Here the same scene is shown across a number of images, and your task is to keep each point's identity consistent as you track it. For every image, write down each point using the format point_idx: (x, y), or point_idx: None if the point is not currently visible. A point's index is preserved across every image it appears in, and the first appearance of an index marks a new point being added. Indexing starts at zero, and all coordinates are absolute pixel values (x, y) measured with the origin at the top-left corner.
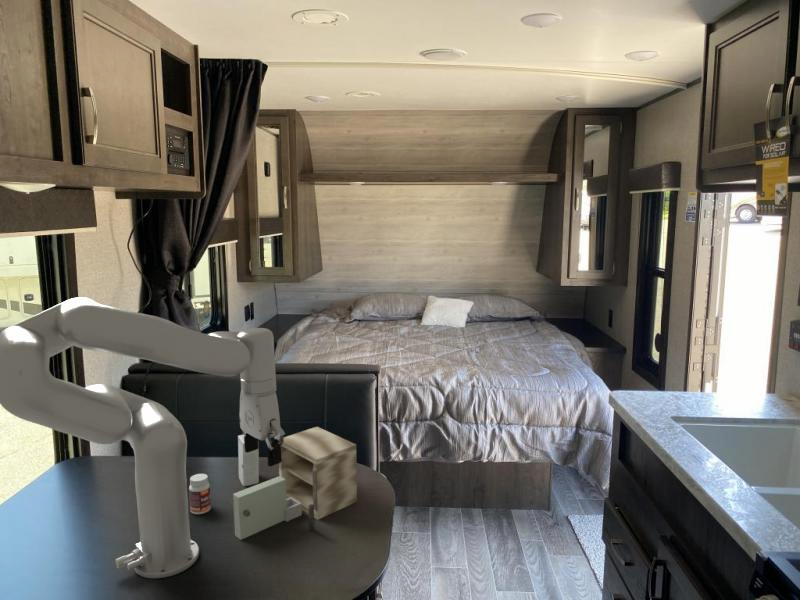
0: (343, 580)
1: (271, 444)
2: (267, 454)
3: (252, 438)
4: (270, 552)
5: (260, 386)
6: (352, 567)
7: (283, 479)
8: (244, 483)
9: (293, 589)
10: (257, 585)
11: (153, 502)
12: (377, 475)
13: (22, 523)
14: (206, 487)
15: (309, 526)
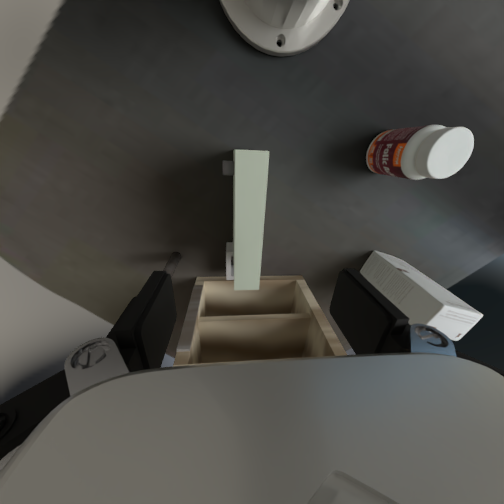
0: (4, 211)
1: (69, 383)
2: (141, 305)
3: (364, 334)
4: (158, 168)
5: None
6: (36, 242)
7: (237, 287)
8: (375, 254)
9: (13, 128)
10: (61, 78)
11: None
12: None
13: None
14: (405, 161)
15: (173, 255)
